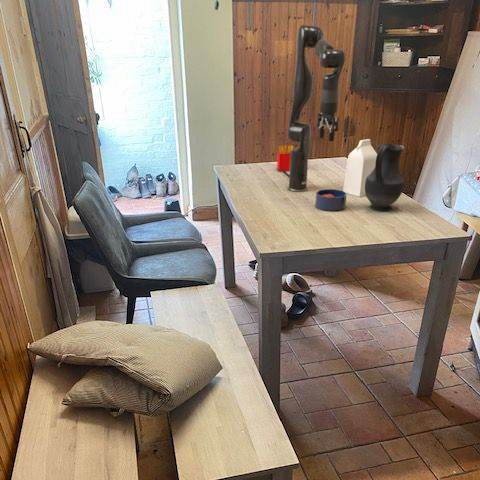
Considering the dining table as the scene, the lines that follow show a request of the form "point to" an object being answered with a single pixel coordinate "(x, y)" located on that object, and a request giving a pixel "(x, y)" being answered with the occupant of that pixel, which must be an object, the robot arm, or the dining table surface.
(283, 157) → the french fries container
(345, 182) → the milk
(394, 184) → the pitcher
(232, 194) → the dining table surface
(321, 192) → the bowl
